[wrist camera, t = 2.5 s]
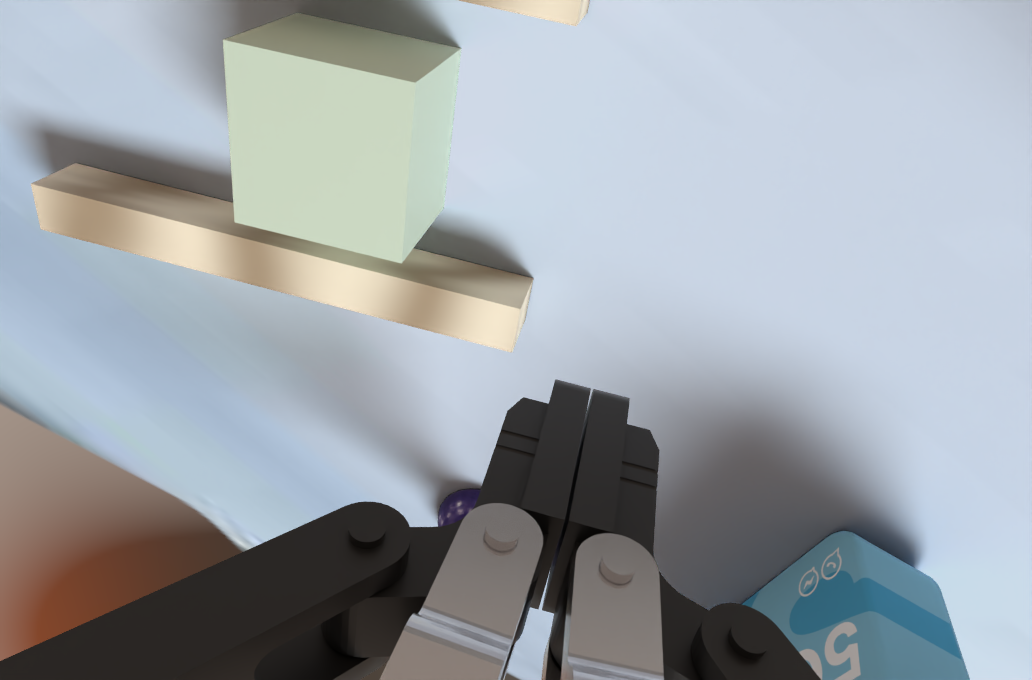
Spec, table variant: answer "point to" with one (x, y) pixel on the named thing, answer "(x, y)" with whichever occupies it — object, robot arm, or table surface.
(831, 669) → the data package
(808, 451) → the table surface
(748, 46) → the table surface
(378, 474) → the table surface
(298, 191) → the sage block
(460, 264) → the parallel wooden bars
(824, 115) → the table surface
